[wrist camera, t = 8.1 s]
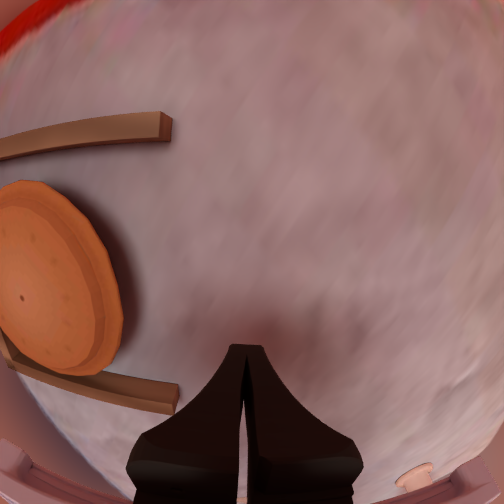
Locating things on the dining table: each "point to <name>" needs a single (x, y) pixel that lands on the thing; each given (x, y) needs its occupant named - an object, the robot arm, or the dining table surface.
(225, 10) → the dining table surface
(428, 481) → the candle
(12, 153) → the serving rack
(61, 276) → the pie
